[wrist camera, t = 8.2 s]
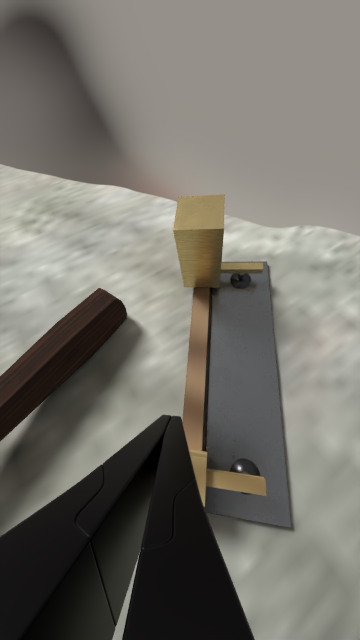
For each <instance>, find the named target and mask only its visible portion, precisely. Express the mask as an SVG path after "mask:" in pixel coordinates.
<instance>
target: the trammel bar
mask: <svg viewBox="0 0 360 640" xmlns="http://www.w3.org/2000/svg"><path fill="white" fill-rule="evenodd" d="M209 298H210V288H209V287H194V294H193V306H192V317H191V329H190V340H189V352H188V364H187V375H186V387H185V398H184V410H183V422H182V423H183V427H184V432H185V436H186V440H187V444H188V448H189V452H190V456H191V460H192V464H193V469H194V473H195V477H196V480H197V484H198V488H199V492H200V496H201V499H202V503H203V506H205V494H206V486H208V487H214V488H220V489H226V490H233V491H239V492H245V493H251V494H257V495H263V496H266V480H265V479H264V477H260V476H254V475H250V474H249V473H248V472H247V471H243V472H242V473H241V474H240V473H234V472H227V471H220V470H214V469H207V452H205V451H202V442H203V421H204V401H205V380H206V360H207V339H208V319H209Z"/></svg>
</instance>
